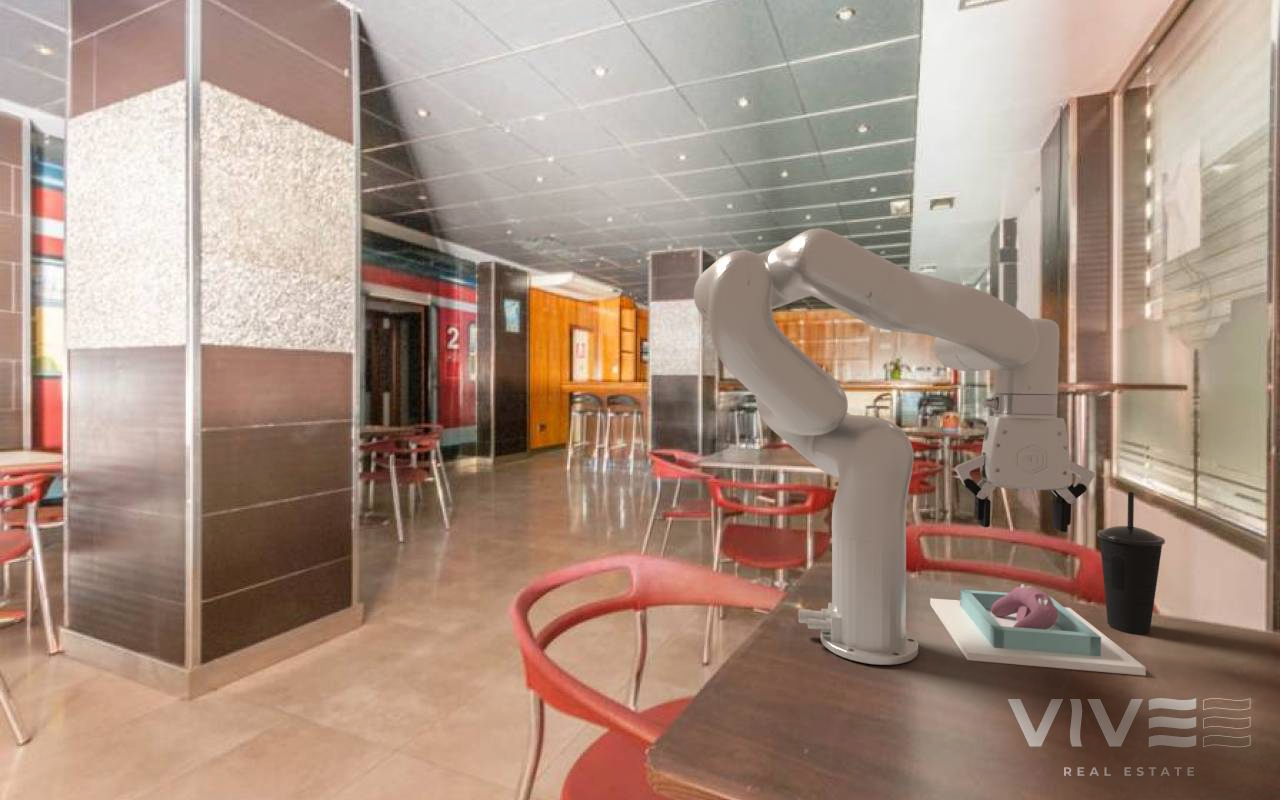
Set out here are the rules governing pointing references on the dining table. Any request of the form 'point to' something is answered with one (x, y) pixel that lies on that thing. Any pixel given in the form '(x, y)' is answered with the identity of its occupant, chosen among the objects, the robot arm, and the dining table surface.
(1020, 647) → the dock
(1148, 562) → the drinking cup
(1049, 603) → the video game controller
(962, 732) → the dining table surface
